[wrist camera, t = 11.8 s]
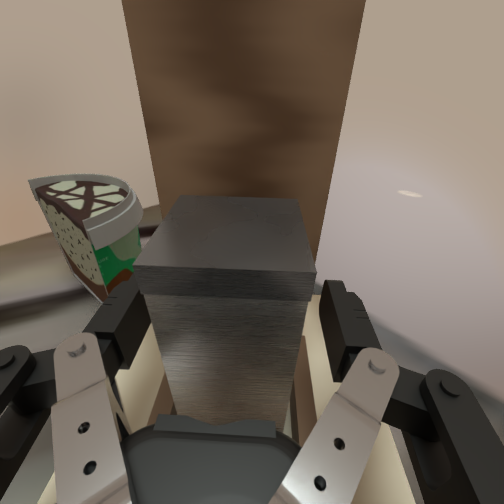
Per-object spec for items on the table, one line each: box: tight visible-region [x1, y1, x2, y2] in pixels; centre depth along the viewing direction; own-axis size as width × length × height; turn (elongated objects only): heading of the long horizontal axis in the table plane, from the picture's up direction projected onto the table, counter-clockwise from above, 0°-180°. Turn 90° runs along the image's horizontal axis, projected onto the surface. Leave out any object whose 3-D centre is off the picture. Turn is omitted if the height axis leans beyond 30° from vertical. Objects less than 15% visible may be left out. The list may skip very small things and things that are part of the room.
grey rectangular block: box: [132, 195, 317, 433], centre depth 12 cm, size 5×5×13 cm
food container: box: [28, 174, 143, 305], centre depth 25 cm, size 12×6×10 cm, turn 50°
